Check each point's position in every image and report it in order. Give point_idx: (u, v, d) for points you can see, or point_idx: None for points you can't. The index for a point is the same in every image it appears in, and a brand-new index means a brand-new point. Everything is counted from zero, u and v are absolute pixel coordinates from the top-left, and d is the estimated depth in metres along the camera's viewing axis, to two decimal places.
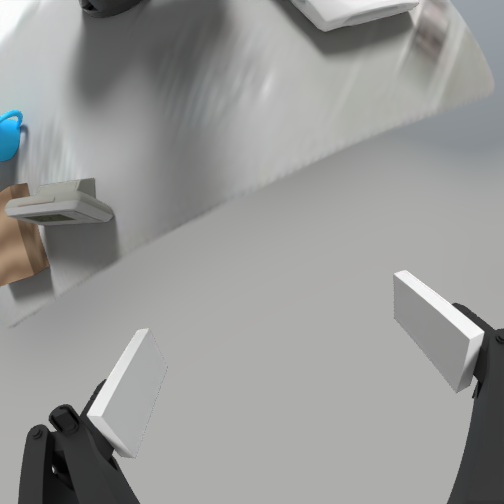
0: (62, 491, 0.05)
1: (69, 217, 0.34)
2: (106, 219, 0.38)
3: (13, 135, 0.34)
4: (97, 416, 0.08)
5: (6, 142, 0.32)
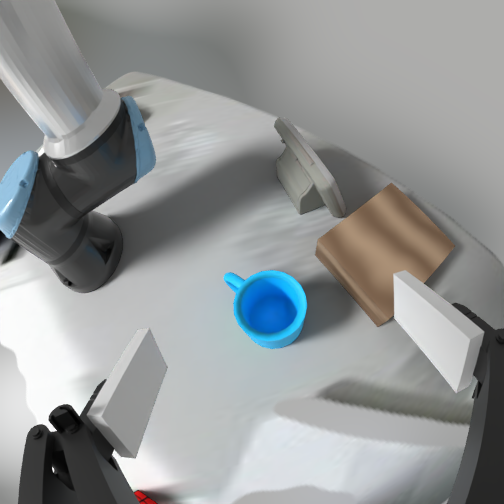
0: (62, 491, 0.05)
1: None
2: None
3: None
4: (97, 416, 0.08)
5: None
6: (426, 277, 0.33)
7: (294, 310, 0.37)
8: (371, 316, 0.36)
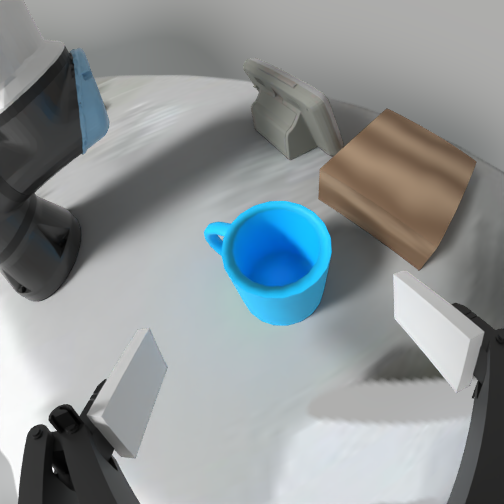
0: (62, 491, 0.05)
1: None
2: None
3: None
4: (97, 416, 0.08)
5: None
6: (460, 195, 0.24)
7: (308, 265, 0.27)
8: (408, 257, 0.26)
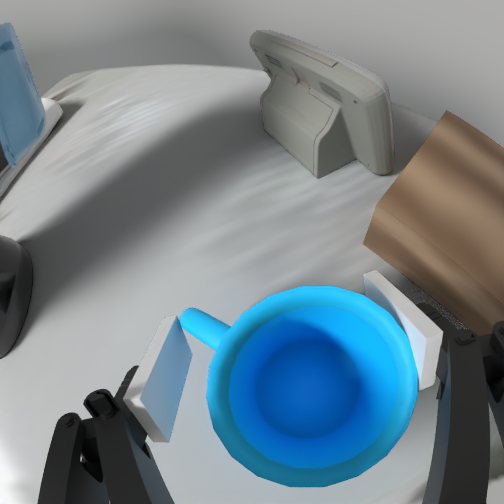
0: (88, 483, 0.06)
1: None
2: None
3: None
4: (135, 399, 0.09)
5: None
6: None
7: (351, 364, 0.16)
8: None
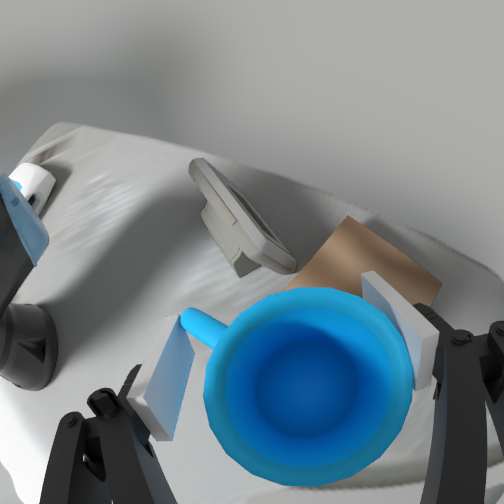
0: (91, 482, 0.06)
1: (237, 194, 0.35)
2: None
3: None
4: (138, 397, 0.09)
5: None
6: None
7: (349, 365, 0.16)
8: None
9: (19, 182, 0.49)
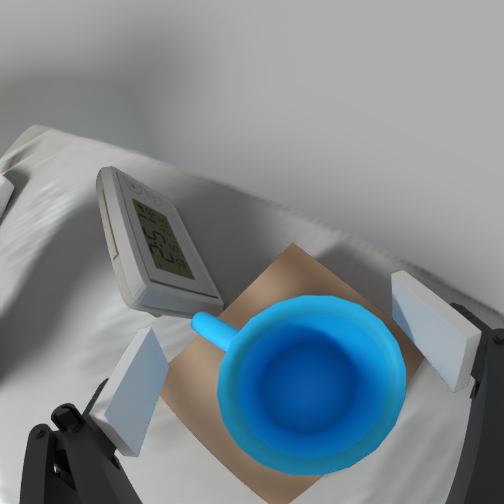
0: (64, 490, 0.05)
1: (153, 211, 0.26)
2: (163, 197, 0.32)
3: None
4: (99, 415, 0.08)
5: None
6: None
7: (348, 366, 0.17)
8: None
9: None
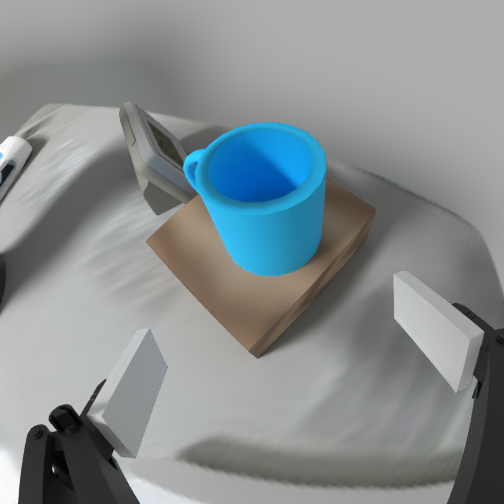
0: (62, 491, 0.05)
1: (161, 133, 0.32)
2: None
3: None
4: (97, 416, 0.08)
5: None
6: (320, 270, 0.22)
7: None
8: None
9: (1, 152, 0.48)
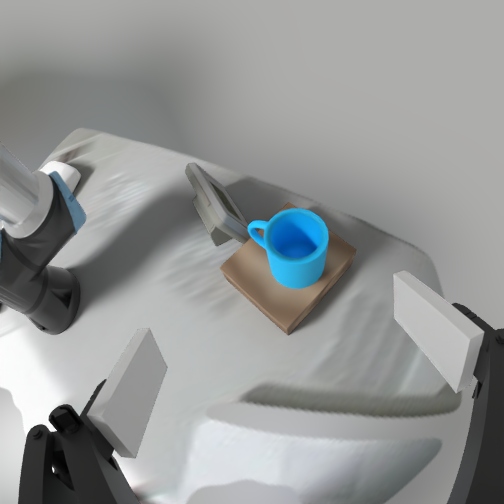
0: (62, 491, 0.05)
1: (217, 188, 0.51)
2: (218, 182, 0.56)
3: None
4: (97, 416, 0.08)
5: None
6: (323, 285, 0.40)
7: (314, 250, 0.41)
8: (279, 326, 0.43)
9: None
